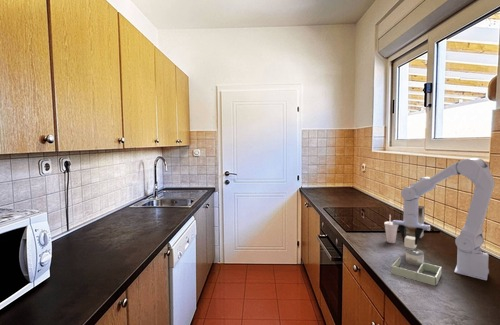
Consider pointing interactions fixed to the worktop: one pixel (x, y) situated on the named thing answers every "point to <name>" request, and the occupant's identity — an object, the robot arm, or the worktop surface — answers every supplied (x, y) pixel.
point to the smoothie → (390, 231)
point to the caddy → (418, 272)
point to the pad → (429, 273)
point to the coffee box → (410, 230)
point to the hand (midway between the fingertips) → (410, 243)
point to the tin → (414, 257)
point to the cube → (409, 242)
